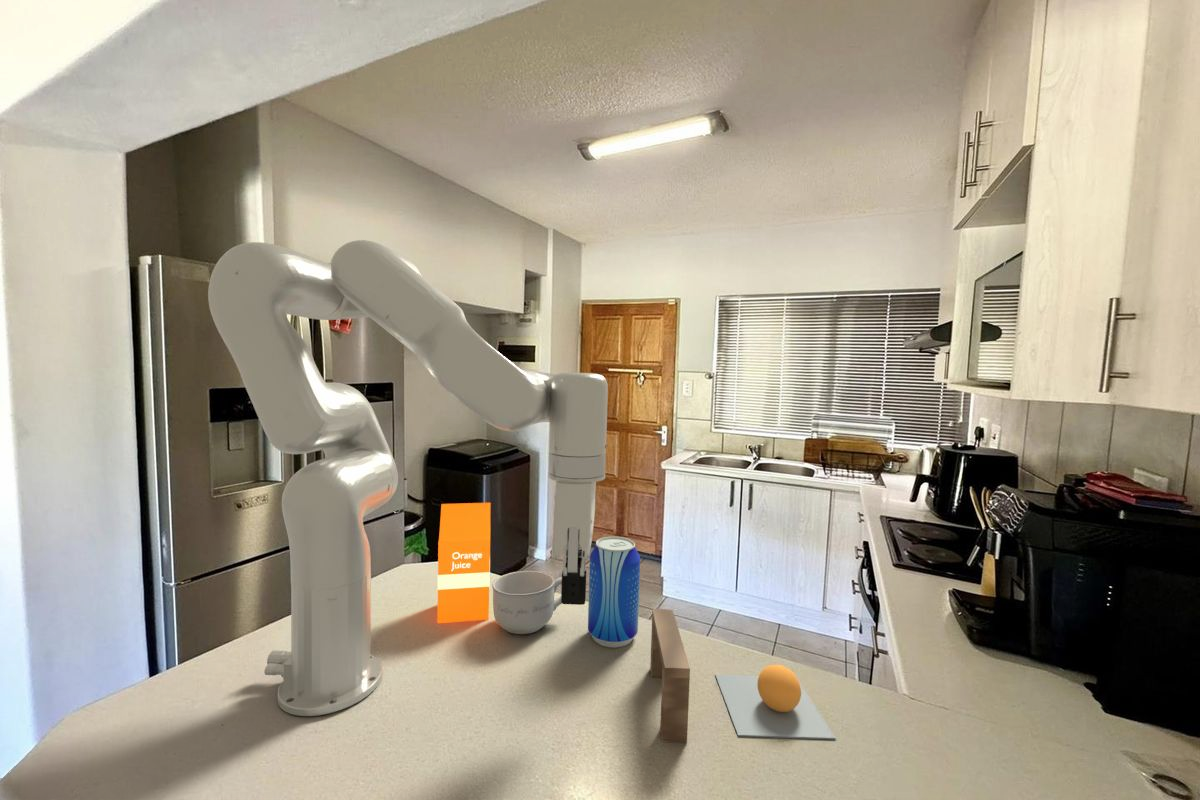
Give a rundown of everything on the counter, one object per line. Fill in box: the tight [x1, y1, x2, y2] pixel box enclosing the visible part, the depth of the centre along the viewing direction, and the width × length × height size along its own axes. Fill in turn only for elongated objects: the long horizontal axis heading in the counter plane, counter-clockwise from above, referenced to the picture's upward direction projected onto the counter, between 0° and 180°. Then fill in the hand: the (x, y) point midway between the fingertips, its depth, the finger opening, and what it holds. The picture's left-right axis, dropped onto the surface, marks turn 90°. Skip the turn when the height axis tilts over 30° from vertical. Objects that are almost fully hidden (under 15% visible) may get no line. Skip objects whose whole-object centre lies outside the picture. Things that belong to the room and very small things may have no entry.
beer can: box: [587, 536, 641, 648], centre depth 81 cm, size 8×8×16 cm
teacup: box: [491, 570, 562, 635], centre depth 84 cm, size 14×11×8 cm
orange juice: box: [437, 502, 492, 624], centre depth 88 cm, size 8×9×20 cm
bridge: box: [650, 608, 691, 743], centre depth 65 cm, size 3×14×9 cm, turn 0°
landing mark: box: [715, 674, 837, 740], centre depth 66 cm, size 12×12×1 cm
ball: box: [757, 664, 801, 712], centre depth 65 cm, size 6×6×6 cm
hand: (573, 601), depth 65 cm, fingers closed
